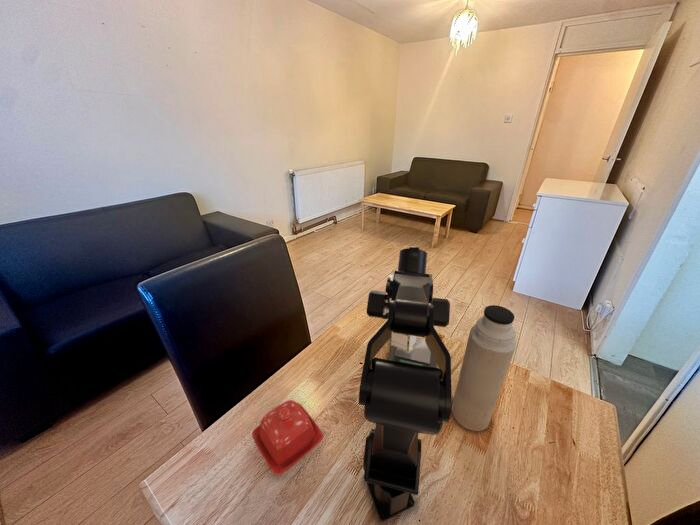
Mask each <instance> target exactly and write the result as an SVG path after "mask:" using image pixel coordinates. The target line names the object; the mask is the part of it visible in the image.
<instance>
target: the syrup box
mask: <svg viewBox="0 0 700 525" xmlns="http://www.w3.org/2000/svg"><path fill="white" fill-rule="evenodd" d="M416 337H418V336H411V335H405V334H398V333H393V332H392V335H391V337H390V339H389V346H391V347H392V346H394V347H396V348H399V349H402V350H405V351H407V352H409V351H410V350H411V348H412V346H413V345H414V343H415V341H416Z"/></svg>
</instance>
